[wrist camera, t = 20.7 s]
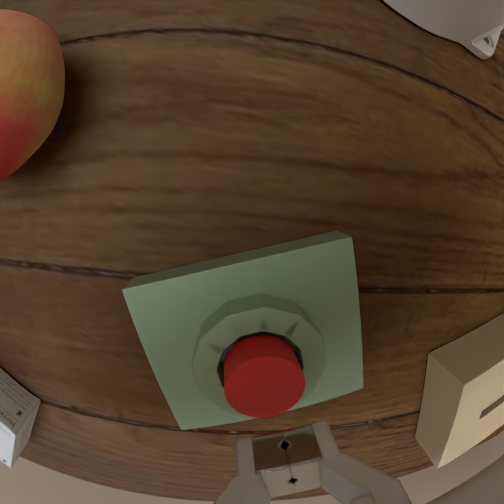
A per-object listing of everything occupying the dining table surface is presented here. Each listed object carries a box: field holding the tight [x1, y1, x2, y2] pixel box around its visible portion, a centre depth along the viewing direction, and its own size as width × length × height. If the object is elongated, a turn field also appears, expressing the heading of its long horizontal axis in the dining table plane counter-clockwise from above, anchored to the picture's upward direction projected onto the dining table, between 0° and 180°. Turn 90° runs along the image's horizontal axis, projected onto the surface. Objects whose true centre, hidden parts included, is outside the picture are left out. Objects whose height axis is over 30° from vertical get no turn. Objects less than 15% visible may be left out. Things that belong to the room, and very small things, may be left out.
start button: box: [224, 335, 305, 418], centre depth 13 cm, size 4×4×2 cm
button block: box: [122, 231, 363, 430], centre depth 16 cm, size 12×10×4 cm
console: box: [415, 313, 504, 469], centre depth 19 cm, size 18×11×5 cm, turn 102°
